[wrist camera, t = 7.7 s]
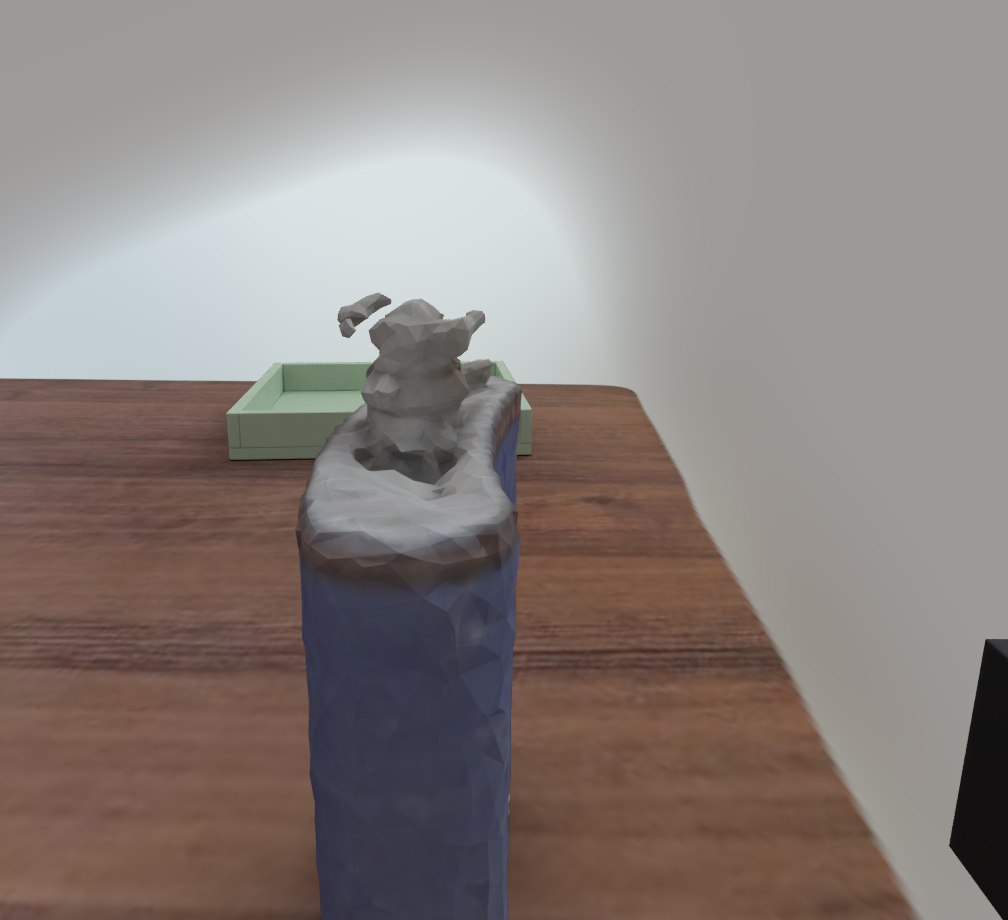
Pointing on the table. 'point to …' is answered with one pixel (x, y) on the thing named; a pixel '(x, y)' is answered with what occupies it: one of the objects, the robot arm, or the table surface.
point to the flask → (413, 627)
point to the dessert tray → (313, 410)
